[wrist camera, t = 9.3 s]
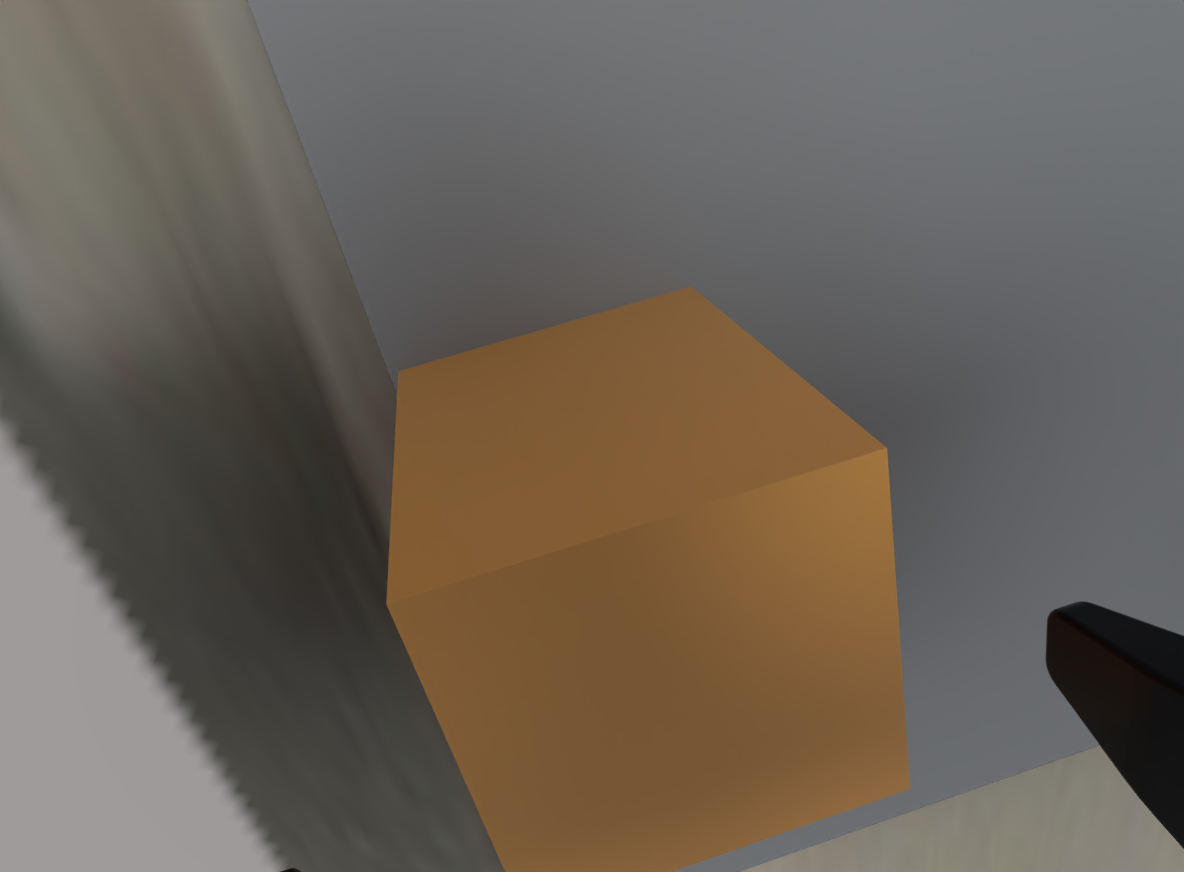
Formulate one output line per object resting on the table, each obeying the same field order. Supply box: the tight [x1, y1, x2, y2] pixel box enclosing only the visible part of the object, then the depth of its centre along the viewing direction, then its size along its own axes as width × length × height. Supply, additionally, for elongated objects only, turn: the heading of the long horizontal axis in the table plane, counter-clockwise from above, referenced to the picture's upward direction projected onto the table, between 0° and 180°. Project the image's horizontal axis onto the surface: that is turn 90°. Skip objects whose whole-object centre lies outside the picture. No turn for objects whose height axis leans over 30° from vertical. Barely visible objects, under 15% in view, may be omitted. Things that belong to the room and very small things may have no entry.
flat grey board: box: [247, 0, 1184, 872], centre depth 18 cm, size 24×18×2 cm
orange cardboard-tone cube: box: [386, 286, 910, 872], centre depth 13 cm, size 6×6×7 cm
